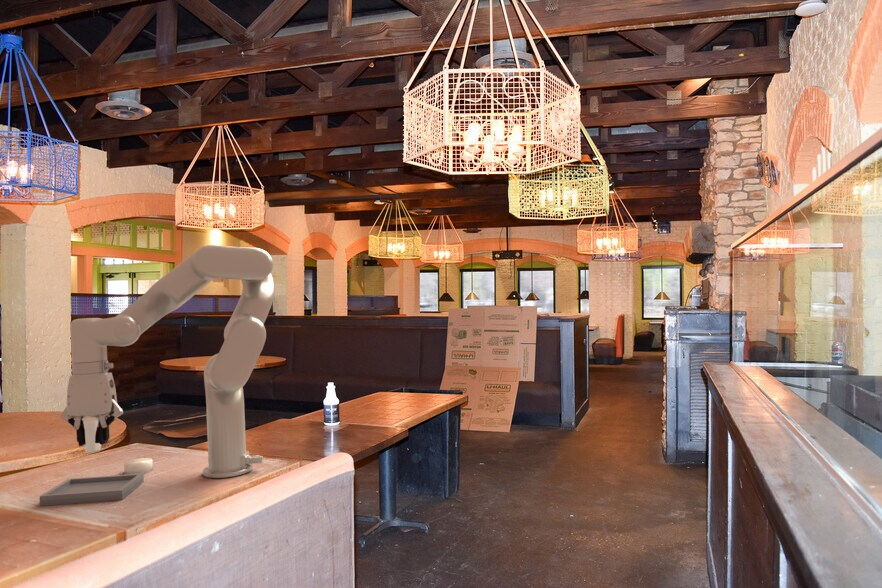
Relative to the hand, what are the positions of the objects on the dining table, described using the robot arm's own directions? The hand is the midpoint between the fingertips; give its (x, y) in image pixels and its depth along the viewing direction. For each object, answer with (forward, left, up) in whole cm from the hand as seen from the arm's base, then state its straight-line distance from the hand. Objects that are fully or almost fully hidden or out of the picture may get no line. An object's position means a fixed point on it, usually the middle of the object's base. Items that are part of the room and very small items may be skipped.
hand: (93, 443), depth 150 cm
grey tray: (0, 0, -12) cm, 12 cm away
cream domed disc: (-4, -18, -12) cm, 22 cm away
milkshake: (0, 0, -2) cm, 2 cm away
